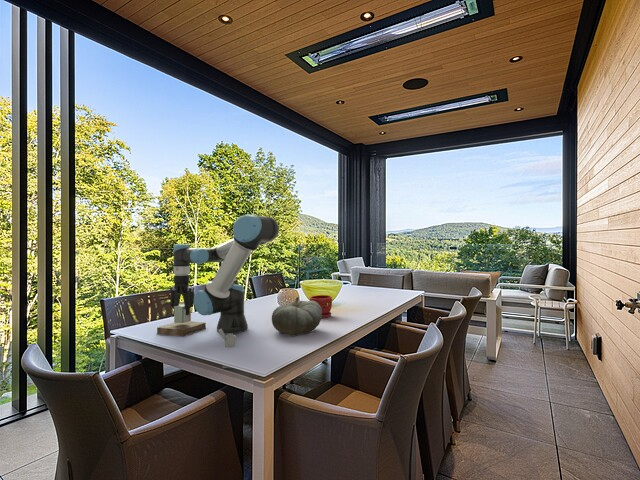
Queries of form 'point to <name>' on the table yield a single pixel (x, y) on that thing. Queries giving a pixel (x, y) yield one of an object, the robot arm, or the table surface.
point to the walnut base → (181, 328)
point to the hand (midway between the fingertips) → (181, 321)
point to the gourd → (297, 317)
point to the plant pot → (323, 304)
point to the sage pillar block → (179, 313)
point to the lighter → (228, 339)
